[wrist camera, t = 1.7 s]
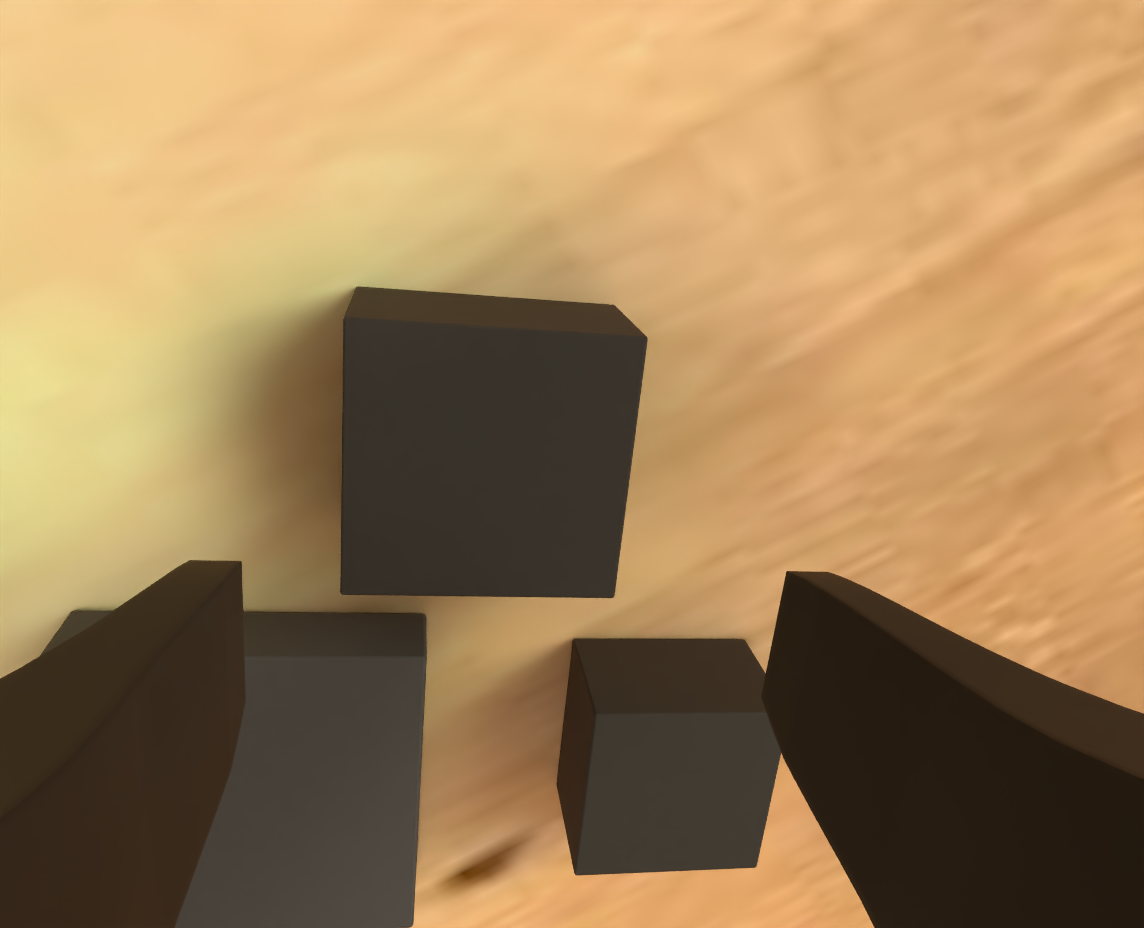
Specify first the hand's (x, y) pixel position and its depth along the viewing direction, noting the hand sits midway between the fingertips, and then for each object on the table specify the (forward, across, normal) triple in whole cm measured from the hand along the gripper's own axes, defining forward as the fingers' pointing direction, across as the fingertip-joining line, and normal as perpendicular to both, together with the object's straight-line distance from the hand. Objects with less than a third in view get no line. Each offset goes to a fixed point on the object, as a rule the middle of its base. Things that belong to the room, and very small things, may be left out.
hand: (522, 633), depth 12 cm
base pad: (+9, +5, +9) cm, 14 cm away
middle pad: (+9, 0, 0) cm, 9 cm away
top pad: (+9, -5, +8) cm, 13 cm away
